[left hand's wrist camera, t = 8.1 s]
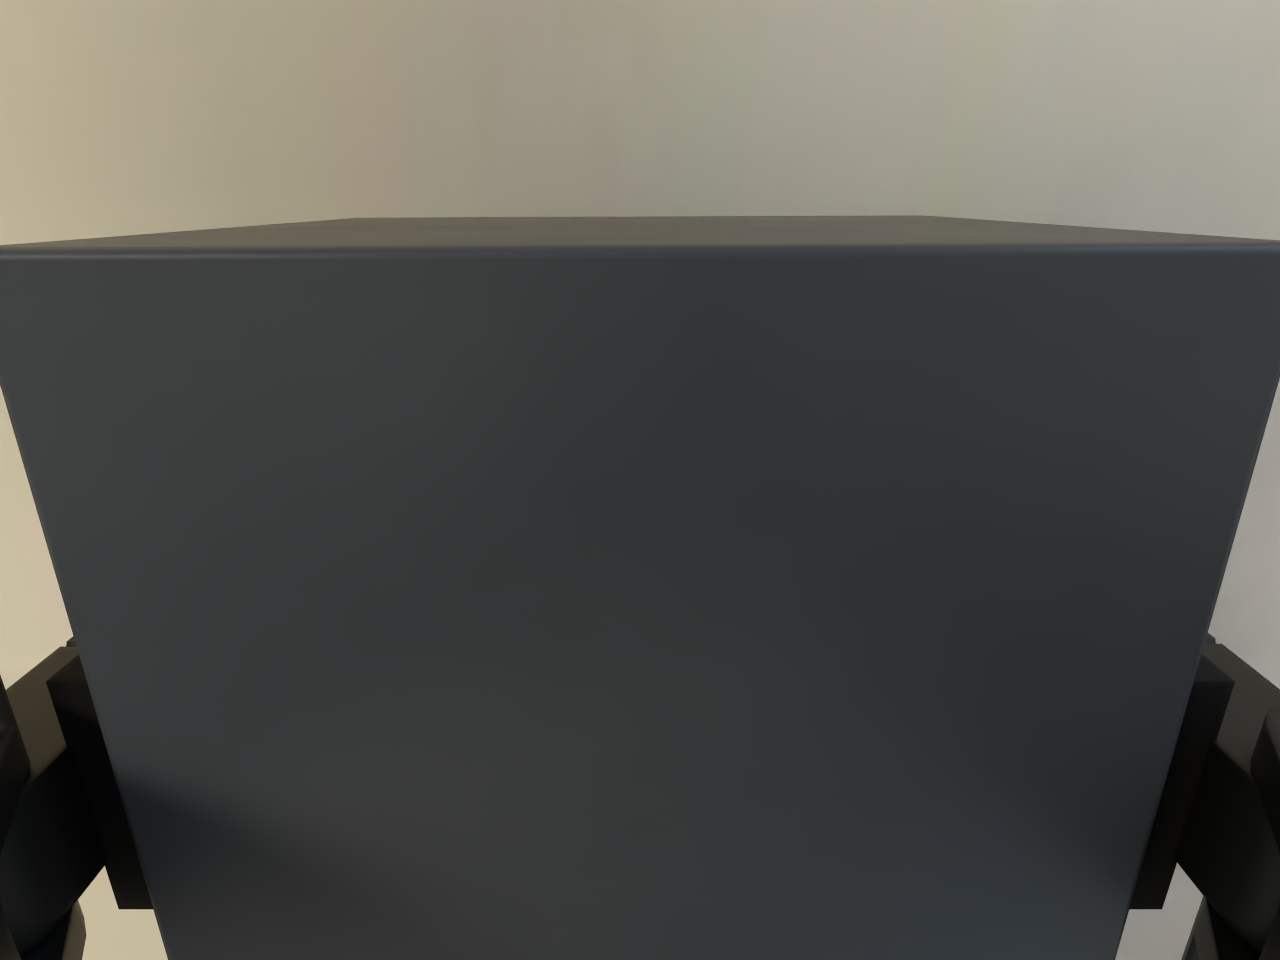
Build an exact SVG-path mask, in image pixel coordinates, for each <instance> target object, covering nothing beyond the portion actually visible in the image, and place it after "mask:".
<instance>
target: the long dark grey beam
mask: <svg viewBox="0 0 1280 960" xmlns="http://www.w3.org/2000/svg"><path fill="white" fill-rule="evenodd" d="M1279 378H1280V241H1278V240H1264V239H1250V238H1235V237H1221V236H1207V235H1192V234H1178V233H1164V232H1150V231H1135V230H1121V229H1107V228H1092V227H1078V226H1064V225H1050V224H1035V223H1021V222H1007V221H992V220H978V219H964V218H950V217H935V216H712V217H468V218H351V219H338V220H325V221H312V222H299V223H286V224H273V225H260V226H247V227H234V228H221V229H208V230H195V231H182V232H169V233H156V234H143V235H130V236H117V237H104V238H91V239H78V240H65V241H52V242H39V243H26V244H13V245H0V385H1V389H2V392H3V396H4V399H5V402H6V406H7V409H8V413H9V416H10V420H11V423H12V426H13V430H14V433H15V437H16V440H17V444H18V447H19V450H20V454H21V457H22V461H23V464H24V468H25V471H26V474H27V478H28V481H29V485H30V488H31V491H32V495H33V498H34V502H35V505H36V509H37V512H38V515H39V519H40V522H41V526H42V529H43V533H44V536H45V539H46V543H47V546H48V550H49V553H50V557H51V560H52V563H53V567H54V570H55V574H56V577H57V580H58V584H59V587H60V591H61V594H62V598H63V601H64V604H65V608H66V611H67V615H68V618H69V622H70V625H71V628H72V632H73V635H74V639H75V642H76V646H77V649H78V652H79V656H80V659H81V663H82V666H83V669H84V673H85V676H86V680H87V683H88V687H89V690H90V693H91V697H92V700H93V704H94V707H95V711H96V714H97V717H98V721H99V724H100V728H101V731H102V735H103V738H104V741H105V745H106V748H107V752H108V755H109V758H110V762H111V765H112V769H113V772H114V776H115V779H116V782H117V786H118V789H119V793H120V796H121V800H122V803H123V806H124V810H125V813H126V817H127V820H128V824H129V827H130V830H131V834H132V837H133V841H134V844H135V847H136V851H137V854H138V858H139V861H140V865H141V868H142V871H143V875H144V878H145V882H146V885H147V889H148V892H149V895H150V899H151V902H152V906H153V909H154V913H155V916H156V919H157V923H158V926H159V930H160V933H161V936H162V940H163V943H164V947H165V950H166V954H167V957H168V960H1115V957H1116V954H1117V950H1118V947H1119V943H1120V940H1121V936H1122V933H1123V929H1124V926H1125V922H1126V919H1127V915H1128V911H1129V908H1130V904H1131V901H1132V897H1133V894H1134V890H1135V887H1136V883H1137V880H1138V876H1139V873H1140V869H1141V866H1142V862H1143V858H1144V855H1145V851H1146V848H1147V844H1148V841H1149V837H1150V834H1151V830H1152V827H1153V823H1154V820H1155V816H1156V813H1157V809H1158V806H1159V802H1160V798H1161V795H1162V791H1163V788H1164V784H1165V781H1166V777H1167V774H1168V770H1169V767H1170V763H1171V760H1172V756H1173V753H1174V749H1175V745H1176V742H1177V738H1178V735H1179V731H1180V728H1181V724H1182V721H1183V717H1184V714H1185V710H1186V707H1187V703H1188V700H1189V696H1190V692H1191V689H1192V685H1193V682H1194V678H1195V675H1196V671H1197V668H1198V664H1199V661H1200V657H1201V654H1202V650H1203V647H1204V643H1205V640H1206V636H1207V632H1208V629H1209V625H1210V622H1211V618H1212V615H1213V611H1214V608H1215V604H1216V601H1217V597H1218V594H1219V590H1220V587H1221V583H1222V579H1223V576H1224V572H1225V569H1226V565H1227V562H1228V558H1229V555H1230V551H1231V548H1232V544H1233V541H1234V537H1235V534H1236V530H1237V526H1238V523H1239V519H1240V516H1241V512H1242V509H1243V505H1244V502H1245V498H1246V495H1247V491H1248V488H1249V484H1250V481H1251V477H1252V474H1253V470H1254V466H1255V463H1256V459H1257V456H1258V452H1259V449H1260V445H1261V442H1262V438H1263V435H1264V431H1265V428H1266V424H1267V421H1268V417H1269V413H1270V410H1271V406H1272V403H1273V399H1274V396H1275V392H1276V389H1277V385H1278V382H1279Z"/></svg>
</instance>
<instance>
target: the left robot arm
mask: <svg viewBox="0 0 1280 960" xmlns="http://www.w3.org/2000/svg"><path fill="white" fill-rule="evenodd" d="M1177 863H1178V864H1179V865H1180V866H1181V868H1182V869H1183V870H1184V871H1185V873H1186V874H1187V875H1188V877H1189V878H1190V879H1191V880H1192V882H1193V883H1194V884H1195V885H1196V887H1197V888H1198V889H1199V890H1200V892H1201V893H1202V894H1203V895H1204V896H1203V899H1202V902H1201V905H1200V908H1199V910H1198V913H1197V916H1196V919H1195V922H1194V925H1193V928H1192V931H1191V934H1190V937H1189V939H1188V942H1187V945H1186V948H1185V951H1184V954H1183V957H1182V960H1280V689H1278V688H1277V687H1276V686H1275V685H1273V684H1272V683H1271V682H1269V681H1268V680H1267V679H1266V678H1264V677H1263V676H1262V675H1261V674H1259V673H1258V672H1257V671H1256V670H1254V669H1253V668H1252V667H1250V666H1249V665H1248V664H1247V663H1245V662H1244V661H1243V660H1242V659H1240V658H1239V657H1238V656H1237V655H1235V654H1234V653H1233V652H1231V651H1230V650H1229V649H1228V648H1226V647H1225V646H1224V645H1223V644H1216V642H1215V638H1214V637H1212V636H1211V635H1210V634H1209V633H1207V636H1206V640H1205V643H1204V647H1203V650H1202V654H1201V657H1200V661H1199V664H1198V668H1197V671H1196V675H1195V678H1194V682H1193V685H1192V689H1191V692H1190V696H1189V700H1188V703H1187V707H1186V710H1185V714H1184V717H1183V721H1182V724H1181V728H1180V731H1179V735H1178V738H1177V742H1176V745H1175V749H1174V753H1173V756H1172V760H1171V763H1170V767H1169V770H1168V774H1167V777H1166V781H1165V784H1164V788H1163V791H1162V795H1161V798H1160V802H1159V806H1158V809H1157V813H1156V816H1155V820H1154V823H1153V827H1152V830H1151V834H1150V837H1149V841H1148V844H1147V848H1146V851H1145V855H1144V858H1143V862H1142V866H1141V869H1140V873H1139V876H1138V880H1137V883H1136V887H1135V890H1134V894H1133V897H1132V901H1131V904H1130V908H1129V909H1162V907H1163V904H1164V901H1165V898H1166V895H1167V892H1168V889H1169V886H1170V883H1171V879H1172V876H1173V873H1174V870H1175V867H1176V864H1177ZM104 866H105V867H106V871H107V874H108V877H109V880H110V883H111V886H112V889H113V892H114V895H115V898H116V902H117V905H118V908H119V909H153V906H152V902H151V899H150V895H149V892H148V889H147V885H146V882H145V878H144V875H143V871H142V868H141V865H140V861H139V858H138V854H137V851H136V847H135V844H134V841H133V837H132V834H131V830H130V827H129V824H128V820H127V817H126V813H125V810H124V806H123V803H122V800H121V796H120V793H119V789H118V786H117V782H116V779H115V776H114V772H113V769H112V765H111V762H110V758H109V755H108V752H107V748H106V745H105V741H104V738H103V735H102V731H101V728H100V724H99V721H98V717H97V714H96V711H95V707H94V704H93V700H92V697H91V693H90V690H89V687H88V683H87V680H86V676H85V673H84V669H83V666H82V663H81V659H80V656H79V652H78V649H77V646H76V642H75V639H74V636H73V637H72V638H71V639H69V640H68V641H67V645H66V647H59V648H58V649H57V650H56V651H54V652H53V653H52V654H51V655H49V656H48V657H47V658H46V659H44V660H43V661H42V662H41V663H39V664H38V665H37V666H36V667H34V668H33V669H32V670H31V671H29V672H28V673H27V674H25V675H24V676H23V677H22V678H20V679H19V680H18V681H17V682H15V683H14V684H13V685H12V686H10V687H9V688H8V689H7V690H5V687H4V684H3V681H2V679H1V676H0V960H82V956H83V950H84V945H85V939H86V929H85V921H84V916H83V913H82V910H81V908H80V905H79V902H78V899H79V897H80V896H81V895H82V894H83V892H84V891H85V890H86V888H87V887H88V886H89V885H90V883H91V882H92V881H93V880H94V878H95V877H96V876H97V874H98V873H99V872H100V871H101V869H102V868H103V867H104Z"/></svg>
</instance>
